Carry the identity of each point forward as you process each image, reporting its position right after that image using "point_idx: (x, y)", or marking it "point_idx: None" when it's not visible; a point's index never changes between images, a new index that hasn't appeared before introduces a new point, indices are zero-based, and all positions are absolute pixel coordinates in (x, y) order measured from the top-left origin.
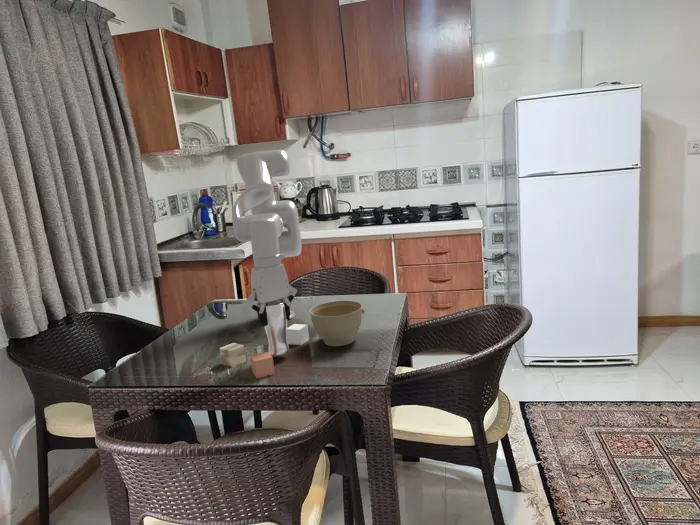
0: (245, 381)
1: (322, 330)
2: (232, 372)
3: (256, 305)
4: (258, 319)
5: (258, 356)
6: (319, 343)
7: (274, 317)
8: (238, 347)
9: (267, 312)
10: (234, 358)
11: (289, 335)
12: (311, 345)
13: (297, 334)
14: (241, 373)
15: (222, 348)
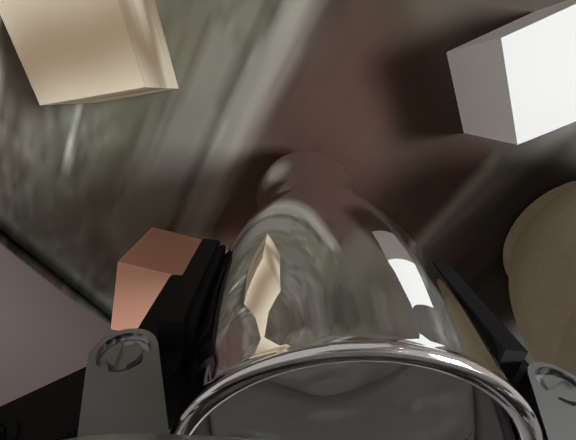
0: (103, 273)
1: (519, 313)
2: (84, 160)
3: (81, 413)
4: (163, 290)
5: (145, 299)
6: (514, 189)
7: (266, 410)
8: (103, 92)
9: (211, 434)
10: (96, 99)
11: (478, 69)
12: (479, 179)
13: (495, 125)
14: (113, 200)
15: (3, 4)
